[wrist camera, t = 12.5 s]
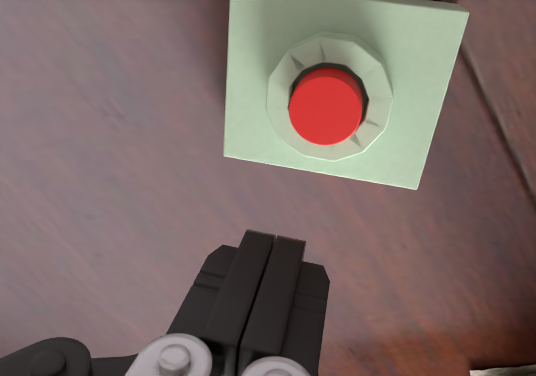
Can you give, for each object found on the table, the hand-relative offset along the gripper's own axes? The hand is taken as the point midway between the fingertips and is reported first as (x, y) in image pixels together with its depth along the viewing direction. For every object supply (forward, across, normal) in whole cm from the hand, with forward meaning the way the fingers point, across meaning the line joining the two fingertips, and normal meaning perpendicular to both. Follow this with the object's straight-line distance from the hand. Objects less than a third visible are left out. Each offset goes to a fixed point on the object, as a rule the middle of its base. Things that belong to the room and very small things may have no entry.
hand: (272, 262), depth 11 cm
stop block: (+19, 0, 0) cm, 19 cm away
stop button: (+14, 0, 0) cm, 14 cm away
